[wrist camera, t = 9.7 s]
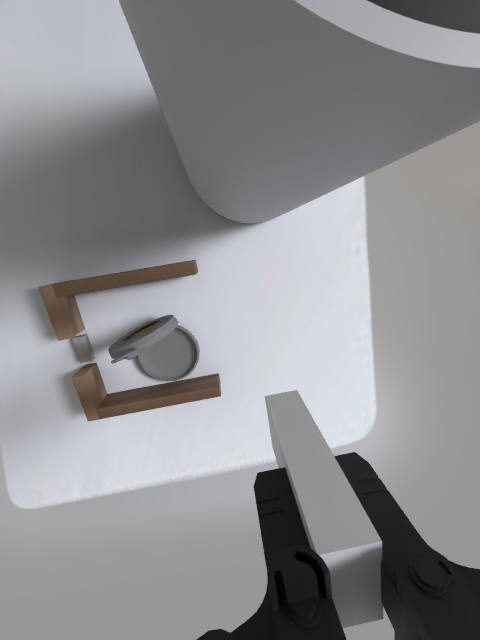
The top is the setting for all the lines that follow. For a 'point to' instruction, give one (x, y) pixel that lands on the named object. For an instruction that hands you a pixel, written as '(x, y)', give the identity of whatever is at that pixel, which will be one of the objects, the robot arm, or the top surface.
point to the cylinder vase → (304, 90)
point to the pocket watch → (159, 349)
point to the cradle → (89, 378)
